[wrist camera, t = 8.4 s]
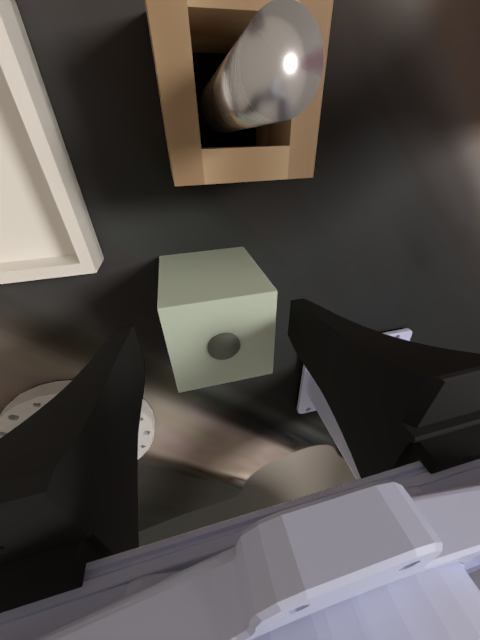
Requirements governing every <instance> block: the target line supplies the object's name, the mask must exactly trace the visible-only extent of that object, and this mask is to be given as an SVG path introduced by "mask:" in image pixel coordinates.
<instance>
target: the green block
mask: <svg viewBox="0 0 480 640" xmlns="http://www.w3.org/2000/svg"><path fill="white" fill-rule="evenodd" d="M276 307H277V290H276V288H275V287H274V286H273V284H272V283H271V282H270V281H269V279H268V278H267V277H266V275H265V274H264V273H263V272H262V270H261V269H260V268H259V266H258V265H257V264H256V262H255V261H254V260H253V259H252V257H251V256H250V255H249V253H248V252H247V251H246V250H245V248H244V247H236V248H227V249H218V250H209V251H201V252H192V253H183V254H174V255H165V256H159V278H158V301H157V310H158V314H159V318H160V322H161V326H162V330H163V334H164V338H165V341H166V345H167V349H168V353H169V357H170V361H171V365H172V369H173V373H174V377H175V381H176V385H177V389H178V393H180V392H185V391H189V390H194V389H199V388H204V387H209V386H214V385H218V384H223V383H228V382H233V381H238V380H242V379H247V378H252V377H257V376H262V375H267V374H271V373H273V360H274V342H275V325H276Z"/></svg>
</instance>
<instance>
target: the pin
mask: <svg viewBox="0 0 480 640" xmlns="http://www.w3.org/2000/svg"><path fill="white" fill-rule="evenodd" d="M323 64H324V49H323V41H322V36H321V33H320V30H319V27H318V24H317V22H316V20H315V18H314V17H313V15H312V14H311V12H310V11H309V10H308V9H307V8H306V7H305V6H304V5H302V4H301V3H299V2H298V1H296V0H273V1H270V2H269V3H267V4H265V5H264V6H263V7H262V8H261V9H260V10H259V11H258V12H257V13H256V14H255V16H254V17H253V18H252V20H251V21H250V23H249V24H248V26H247V27H246V28H245V30H244V31H243V33H242V34H241V36H240V37H239V39H238V40H237V41H236V43H235V44H234V46H233V47H232V49H231V50H230V52H229V53H228V54H227V56H226V57H225V59H224V60H223V62H222V63H221V65H220V66H219V67H218V69H217V70H216V72H215V73H214V75H213V76H212V78H211V79H210V80H209V82H208V83H207V85H206V86H205V88H204V90H203V92H202V95H201V100H200V108H201V113H202V116H203V119H204V121H205V122H206V124H207V125H208V126H209V127H210V128H211V129H212V130H213V131H215V132H218V133H228V132H233V131H237V130H242V129H247V128H252V127H257V126H262V125H267V124H272V123H277V122H281V121H286V120H290V119H292V118H294V117H296V116H298V115H299V114H300V113H302V112H303V111H304V110H305V109H306V108H307V106H308V105H309V104H310V103H311V101H312V99H313V98H314V96H315V94H316V92H317V89H318V87H319V84H320V81H321V77H322V72H323Z"/></svg>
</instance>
